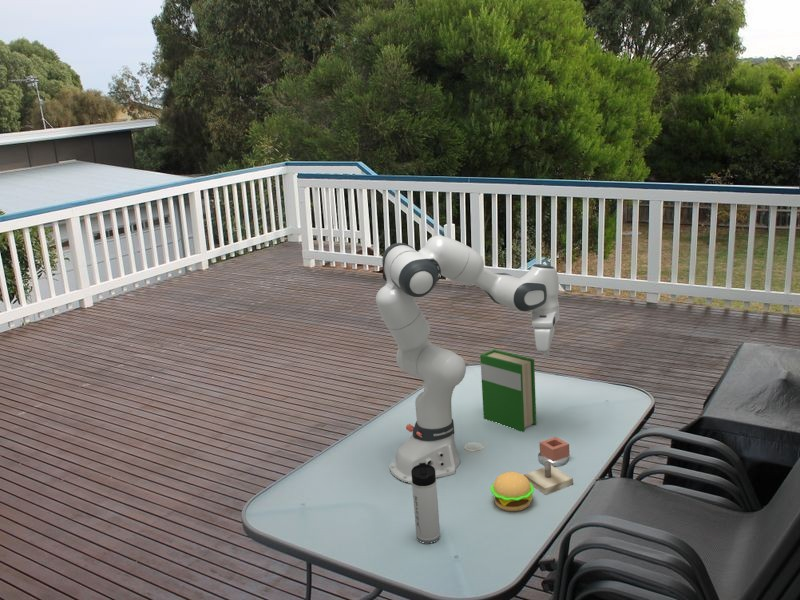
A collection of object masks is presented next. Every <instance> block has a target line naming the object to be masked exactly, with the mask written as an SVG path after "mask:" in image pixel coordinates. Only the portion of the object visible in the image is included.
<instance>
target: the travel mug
mask: <svg viewBox="0 0 800 600" xmlns="http://www.w3.org/2000/svg"><path fill="white" fill-rule="evenodd" d="M411 474H412V483H411V486H412V487H411V489H412V499H413V509H414V510H413V513H414V521H415V522H414V523H415V536H416V540H417V539H418V540H419V541H421V542H424V543H431V542H434V541H436V540H438V539H439V537H440V538H441V532H440V531H441V529H440V528H441V527H440V514H439V504H438V503H439V501H438V499H439V498H438V488H437V478H436V475H435V468H434V467H433V466H431V465H428V464H426V463H419V465H417V466H415V467H414V468H413V469H412V471H411ZM418 540H417V541H418ZM439 540H440V539H439ZM439 540H438V541H439ZM419 541H418V542H419ZM421 542H420V543H421ZM436 542H437V541H436ZM424 543H423V544H424ZM434 543H435V542H434ZM431 544H432V543H431Z"/></svg>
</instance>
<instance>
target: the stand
mask: <svg viewBox="0 0 800 600" xmlns="http://www.w3.org/2000/svg"><path fill="white" fill-rule="evenodd" d="M544 463H545V465H544V467H541V468H538V469H535V470H532V471H530V472H527V473H525V474H523V475H524V476H525V477H526V478H527V479H528V480H529V482H531V484H532V486H533V487H534V489H536V490H538V492H541V493H542V494H544V495H546V496H547V495H549V494H552V493H554V492H556V491H559V490H562V489H565V488H567V487H570V486H573V484H574V480H573V479H574V478H573V477H572V476H569V475H568V474H567V473H564V472H563V471H562V470H560V469H558V467H553V466H552V465H551V462H550V461H545V462H544Z"/></svg>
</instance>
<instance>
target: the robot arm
mask: <svg viewBox="0 0 800 600" xmlns="http://www.w3.org/2000/svg"><path fill="white" fill-rule="evenodd" d="M381 261H382V278H383V280H384V281H385V282H386V283H385V285H384V286H382V287H381V288H380V289H379V290H378V291H377V293H376V295H375V303H376V306H377V309H378V312H379V315H380V317H381V319H382V321H383V322H384V325H385V326H386V328H387V330H388V332H389V333H390V334H391V336H392V338H393V339H394V341H395V343H396V345H397V348H398V349H397V351H396V356H395V360H396V365H397V367H398V368H399V369H400V370H402V371H403V372H404V373H406V374H407V375H409V376H411V377H413V378H417V379H419V380H422V381H423V383H424V388H423V391H421V392H420V393H419V394H418V395H417V397H416V398H415V401H414V404H415V415H416V422H415V423H414V425H412V424H411V423H407V424H406V426H405V430H407V431H408V432H410V433H411V432H412V434H411V435H410V437H408V439H407V440H406V441H405V442H403V444H402V445H401V446H399V447H398V449H397V451H396V456H395V461H393V462H391V463H389V465H388V466H389V468H390V469H389V472H390V471H391V472H390V473H391V474H393V475H394V476H395V478H396V477H397V478H398V479H397V478H396V479H397V480H399V479H400V480H402V481H401V482H403V481H404V482H403V483H405V482H408V483H407V484H412V474H411V471H412V469H413V468H414V467H415V466H417V465H419V463H426V464H428V465H431V466H433V467H434V468H435V475H436V479H438V478H442V477H446V476H451V475H454V474H456V472H457V471H456V469H457V467H458V466H459V465H460V464H461V459H460V456H459V454H458V451H457V447H456V443H455V442H456V441H455V436H454V435H455V423H454V419H453V416H452V414H453V413H452V408H453V407H452V397H453V392H454V389H455V387H457V386H458V385H460V383H461V382H462V381H463V380H464V378H465V375H466V374H467V373H466V372H467V366H466V362H465V359H464V358H463V357H462V356H460V355H459V354H457V353H455V352H454V351H452V350H449V349H447V348H444V347H440V346H436V345H435V344H433V343H432V342H431V341H430V340H429V338H428V337H429V336H430V332H431V325H430V324H429V322H428V321H427V318H426V316H425V315H424V313H423V311H422V310H421V308H420V306H419V305H418V303H417V302H416V300H415V298H423V297H425V296H426V295H428V294H429V293H430V292H432V290H433V289H434V288H435V286H436V285H437V283H438V281H439V280H440V278H441V276H442V277H444V278H446V279H448V280H450V281H452V282H455V283H456V284H457V283H458V284H461V285H465V286H472V285H473V286H475V287H477V288H479V289H481V290H482V291H484V292H485V293H486V294H487V295H488V297H489V298H490V299H491V301H493V303H495V304H497V305H499V306H500V305H501V306H506V307H508V308H510V309H513V310H516V311H520V312H530V321H531V327H532V328H533V334H534V343H535V348H536V351H537V352H538V353H539V352H540V353H542V357H543V358H544V359H545V358H547V359H548V358H549V357H550V354H551V351H550V350H551V344H552V340H553V337H554V335H555V331H556V329H555V326H556V324H557V322H559V321H560V319H561V317H560V316H561V315H560V302H559V298H558V297H559V292H560V287H559V285H560V283H559V276H558V272H557V268H555V267H554V266H552V265H549V264H543V263H536V264H532V265H531V266H530V269H529V270H528V271H527V272H526V273H525V274H524V275H523V276H521V277H517V276H513V275H512V274H510V273H506V272H505V273H504V272H499V273H498V272H497V273H495V272H493V271H491V270H490V269H488V268H486V267H485V263H484V262H485V261H484V257H483V256H482V255H481V254H480V253H479V252H477V250H475V249H474V248H472V247H470V246H468V245H467V244H465V243H462V242H460V241H459V240H456V239H453V238H451V237H447V236H443V235H438V234H437V235H434V236H431V237H429V239H428V240H427V241H425V244H424V245H423V247H421V248H420V249H419V250H416V249H415V248H414V247H413V246H412V245H409V244H407V243H404V242H396V243H393V244H392V243H391V244H390V245H389V246H388V247H387V248H386V249H385V251H384V252H383V254H382V260H381ZM393 475H392V476H393ZM394 476H393V477H394ZM437 477H438V478H437ZM400 480H399V481H400Z"/></svg>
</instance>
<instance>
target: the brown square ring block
mask: <svg viewBox="0 0 800 600" xmlns="http://www.w3.org/2000/svg"><path fill="white" fill-rule="evenodd" d="M539 453H540V454H541V455H543V456H544V457H546V458H548V459H549V460H551V461H553V462H554V461H557V460H560V459H562V458H565V457H568V458H569V457H570V444H569V443H568V442H566V441H564V440H562V439H561V438H559V437H557V436H553V437H551V438H548V439H545V440H542V441H539Z"/></svg>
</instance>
